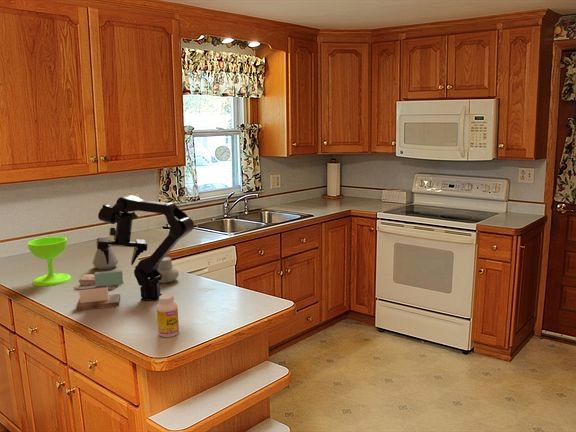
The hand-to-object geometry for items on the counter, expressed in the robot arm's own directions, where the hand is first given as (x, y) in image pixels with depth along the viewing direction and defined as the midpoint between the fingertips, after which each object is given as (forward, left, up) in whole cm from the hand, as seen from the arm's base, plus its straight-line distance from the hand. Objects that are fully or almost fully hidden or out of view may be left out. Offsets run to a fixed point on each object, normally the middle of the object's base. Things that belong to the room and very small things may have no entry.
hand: (119, 264), depth 216 cm
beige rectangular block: (+7, +10, -11) cm, 17 cm away
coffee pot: (+21, -35, -13) cm, 43 cm away
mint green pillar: (+1, +8, -5) cm, 10 cm away
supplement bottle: (-31, +37, -13) cm, 50 cm away
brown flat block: (+5, +10, -13) cm, 17 cm away
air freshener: (-12, -18, -13) cm, 25 cm away
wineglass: (+40, -19, -13) cm, 46 cm away
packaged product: (+15, -12, -13) cm, 24 cm away
